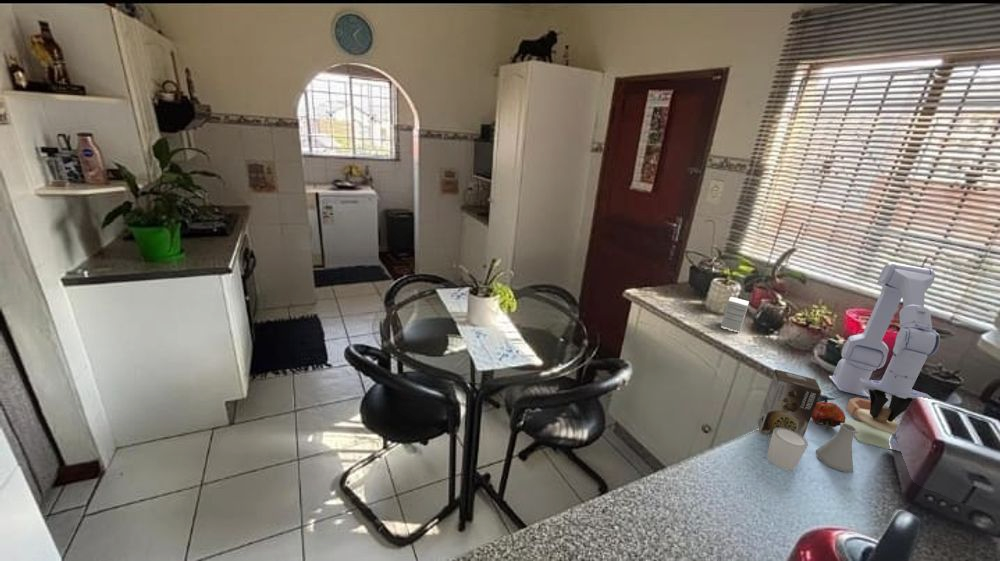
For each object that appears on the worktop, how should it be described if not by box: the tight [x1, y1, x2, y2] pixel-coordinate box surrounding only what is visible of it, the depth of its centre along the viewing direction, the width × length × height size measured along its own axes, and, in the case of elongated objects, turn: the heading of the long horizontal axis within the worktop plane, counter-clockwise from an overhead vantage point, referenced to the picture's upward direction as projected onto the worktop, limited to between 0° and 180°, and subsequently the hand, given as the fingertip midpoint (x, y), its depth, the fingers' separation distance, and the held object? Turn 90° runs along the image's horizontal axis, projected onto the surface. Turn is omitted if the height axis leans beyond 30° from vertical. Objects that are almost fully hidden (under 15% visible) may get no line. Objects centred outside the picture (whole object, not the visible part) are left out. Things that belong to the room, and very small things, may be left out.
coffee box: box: [756, 369, 822, 438], centre depth 105 cm, size 9×6×16 cm
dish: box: [845, 397, 898, 423], centre depth 119 cm, size 10×10×3 cm
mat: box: [844, 417, 892, 450], centre depth 111 cm, size 10×10×1 cm
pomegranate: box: [811, 398, 846, 434], centre depth 112 cm, size 7×7×10 cm
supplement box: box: [720, 296, 750, 332], centre depth 172 cm, size 7×7×13 cm
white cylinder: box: [767, 428, 809, 471], centre depth 96 cm, size 7×7×7 cm
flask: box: [815, 423, 858, 473], centre depth 97 cm, size 7×7×10 cm
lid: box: [856, 405, 900, 435], centre depth 109 cm, size 9×9×4 cm
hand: (880, 417), depth 109 cm, fingers closed on lid, 3 cm apart
